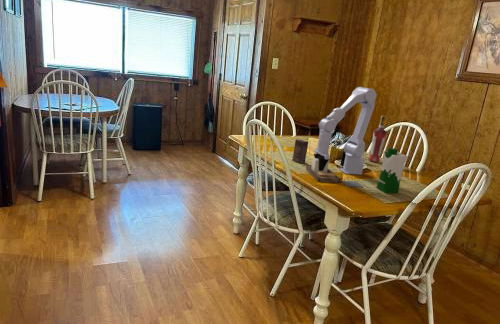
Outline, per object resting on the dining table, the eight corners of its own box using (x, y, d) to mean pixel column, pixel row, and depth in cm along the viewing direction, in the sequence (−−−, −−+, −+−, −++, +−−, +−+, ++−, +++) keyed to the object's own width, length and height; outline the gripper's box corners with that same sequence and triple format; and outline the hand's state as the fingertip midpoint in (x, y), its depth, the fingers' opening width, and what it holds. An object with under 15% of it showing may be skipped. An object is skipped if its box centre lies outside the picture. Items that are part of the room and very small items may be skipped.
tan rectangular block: (331, 178, 178) (332, 172, 178) (334, 181, 175) (335, 175, 174) (316, 177, 177) (317, 171, 176) (319, 180, 173) (320, 174, 172)
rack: (326, 170, 189) (326, 167, 189) (339, 182, 172) (340, 178, 172) (305, 169, 187) (306, 165, 187) (318, 181, 170) (318, 177, 170)
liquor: (367, 158, 227) (376, 114, 219) (379, 160, 225) (389, 116, 217) (367, 161, 220) (377, 115, 212) (380, 163, 218) (390, 117, 211)
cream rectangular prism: (323, 171, 187) (326, 158, 185) (326, 174, 183) (329, 161, 181) (310, 171, 186) (313, 158, 184) (313, 173, 182) (315, 160, 180)
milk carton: (373, 187, 172) (382, 146, 167) (389, 187, 175) (398, 147, 169) (384, 194, 164) (394, 151, 159) (401, 194, 167) (411, 152, 161)
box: (305, 162, 200) (308, 141, 197) (299, 163, 197) (303, 142, 194) (297, 159, 205) (300, 138, 201) (291, 160, 202) (295, 139, 199)
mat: (356, 182, 176) (356, 181, 176) (363, 187, 170) (363, 186, 169) (341, 181, 175) (341, 180, 174) (347, 186, 168) (347, 185, 168)
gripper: (311, 139, 186) (307, 164, 190) (321, 146, 173) (316, 173, 176) (324, 140, 188) (319, 165, 191) (335, 147, 174) (330, 174, 178)
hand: (319, 169), depth 184 cm, fingers closed on cream rectangular prism, 4 cm apart
